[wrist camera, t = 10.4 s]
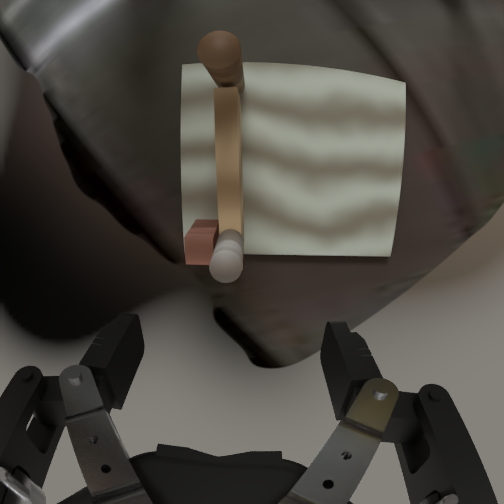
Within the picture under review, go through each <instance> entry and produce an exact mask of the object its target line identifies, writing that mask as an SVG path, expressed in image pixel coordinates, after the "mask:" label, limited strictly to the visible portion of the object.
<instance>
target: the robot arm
mask: <svg viewBox="0 0 504 504" xmlns="http://www.w3.org/2000/svg"><path fill="white" fill-rule="evenodd" d="M143 354H144V339H143V334H142V329H141V324H140V319H139V316H138V315H137V314H130V313H120V314H119V316H118V317H117V319H116V320H115V322H114V323H109V324H107V325H106V326H105V327H103V328H102V329H101V330H100V332H99V333H98V335H97V336H96V338H95V339H94V341H93V343H92V344H91V345H90V347H89V349H88V350H87V352H86V354H85V355H84V357H83V358H82V360H81V361H80V363H79V365H72V366H69V367H67V368H66V369H64V370H63V371H62V372H61V374H60V376H43V375H42V373H41V371H40V369H39V368H37V367H35V366H26V367H23V368H21V369H20V370H18V371H17V372H16V373H15V375H14V377H13V378H12V379H11V381H10V383H9V384H8V386H7V387H6V389H5V390H4V392H3V394H2V395H1V397H0V504H46V497H45V494H44V492H43V491H42V487H43V484H44V481H45V478H46V475H47V472H48V469H49V466H50V464H51V461H52V458H53V455H54V452H55V450H56V447H57V445H58V442H59V440H60V437H61V435H62V432H63V430H64V427H65V426H67V430H68V433H69V436H70V440H71V443H72V446H73V449H74V452H75V455H76V458H77V461H78V464H79V466H80V469H81V472H82V474H83V477H84V479H85V482H86V484H87V486H86V487H85V488H83V489H81V490H80V491H78V492H76V493H75V494H73V495H71V496H70V497H68V498H66V499H64V500H63V501H61V502H59V503H57V504H353V503H352V502H350V501H349V500H350V498H351V496H352V494H353V493H354V491H355V489H356V488H357V486H358V484H359V483H360V481H361V479H362V477H363V475H364V474H365V472H366V470H367V468H368V466H369V464H370V462H371V460H372V458H373V456H374V454H375V452H376V450H377V448H378V446H379V444H380V442H391V443H394V444H395V448H396V451H397V454H398V458H399V461H400V465H401V468H402V472H403V476H404V480H405V483H406V488H407V492H408V496H409V500H410V504H498V503H497V500H496V497H495V494H494V491H493V489H492V486H491V484H490V481H489V478H488V476H487V473H486V471H485V469H484V466H483V464H482V461H481V459H480V457H479V455H478V452H477V450H476V448H475V445H474V444H473V441H472V439H471V437H470V435H469V433H468V430H467V428H466V426H465V424H464V422H463V420H462V418H461V416H460V414H459V412H458V410H457V408H456V406H455V405H454V402H453V400H452V399H451V397H450V395H449V393H448V392H447V391H446V389H444V388H443V387H441V386H439V385H436V384H428V385H424V386H423V387H422V388H421V389H420V391H419V392H418V393H409V392H401V391H398V389H397V387H396V386H395V385H394V384H393V383H392V382H391V381H389V380H387V379H383V377H382V375H381V373H380V371H379V369H378V367H377V365H376V363H375V360H374V358H373V356H371V352H370V350H369V349H368V346H367V344H366V342H365V340H364V339H363V338H362V337H361V336H360V335H359V334H358V333H357V332H353V333H352V332H350V330H349V328H348V326H347V324H346V322H345V321H333V322H327V324H326V328H325V332H324V337H323V342H322V347H321V353H320V359H321V365H322V368H323V372H324V375H325V379H326V383H327V386H328V390H329V394H330V398H331V401H332V405H333V409H334V413H335V417H336V420H341V421H340V423H339V424H338V426H337V427H336V429H335V431H334V432H333V433H332V435H331V436H330V438H329V439H328V441H327V443H326V444H325V445H324V447H323V448H322V450H321V451H320V452H319V454H318V455H317V457H316V458H315V460H314V461H313V462H312V463H311V465H310V466H309V468H307V467H305V466H303V465H301V464H299V463H296V462H293V461H290V460H286V459H282V452H281V451H262V452H261V451H259V452H258V451H252V452H251V451H250V452H245V453H240V454H234V455H228V456H220V457H217V456H213V455H210V454H206V453H203V452H199V451H196V450H193V449H190V448H187V447H179V446H171V445H164V444H158V446H157V451H154V452H147V453H143V454H139V455H136V456H134V457H132V458H130V456H129V454H128V452H127V450H126V448H125V446H124V444H123V442H122V440H121V438H120V436H119V434H118V432H117V430H116V427H115V425H114V423H113V421H112V419H111V416H110V411H111V409H112V408H115V409H119V410H121V409H122V406H123V404H124V401H125V399H126V396H127V394H128V391H129V389H130V386H131V384H132V381H133V379H134V376H135V374H136V371H137V369H138V367H139V364H140V362H141V360H142V357H143ZM32 414H33V415H34V417H33V419H32V421H31V423H30V425H29V427H28V429H27V431H26V427H27V424H28V422H29V420H30V418H31V416H32Z"/></svg>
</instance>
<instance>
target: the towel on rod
mask: <svg viewBox="0 0 504 504" xmlns="http://www.w3.org/2000/svg"><path fill="white" fill-rule="evenodd" d="M197 55H198V57H199V59H200V61H201V62H202V63H198V64H184V65H182V86H181V191H182V217H183V237H184V253H185V259H186V264H193V265H210V262H211V258H212V255H213V252H214V249H215V246H216V243H217V240H218V237H219V219H218V200H217V178H216V152H215V119H214V88H225V87H237V88H238V92H239V96H240V99H241V134H242V175H243V211H244V253H243V254H270V255H330V256H390V255H391V250H392V244H393V239H394V232H395V226H396V219H397V212H398V205H399V197H400V189H401V179H402V168H403V156H404V140H405V114H406V83H404V82H400V81H396V80H392V79H387V78H383V77H378V76H373V75H368V74H363V73H358V72H352V71H346V70H339V69H332V68H324V67H316V66H306V65H295V64H281V63H259V62H242V55H241V47H240V43H239V40H238V39H237V38H236V37H235V36H234V35H233V34H231V33H229V32H226V31H214V32H211V33H209V34H207V35H205V36H204V37H203V38H202V39H201V40H200V42H199V44H198V47H197Z"/></svg>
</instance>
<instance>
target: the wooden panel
mask: <svg viewBox="0 0 504 504" xmlns="http://www.w3.org/2000/svg"><path fill="white" fill-rule="evenodd" d="M214 119H215V152H216V178H217V200H218V219H219V237H218V240H217V243H216V246H215V249H214V252H213V255H212V258H211V262H210V265H209V270H210V273H211V275H212V276H213V278H214V279H216V280H217V281H219V282H223V283H229V282H233V281H235V280H236V279H237V278H238V277H239V276H240V274H241V271H242V269H243V253H244V211H243V175H242V134H241V99H240V96H239V92H238V88H237V87H225V88H214Z"/></svg>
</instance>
